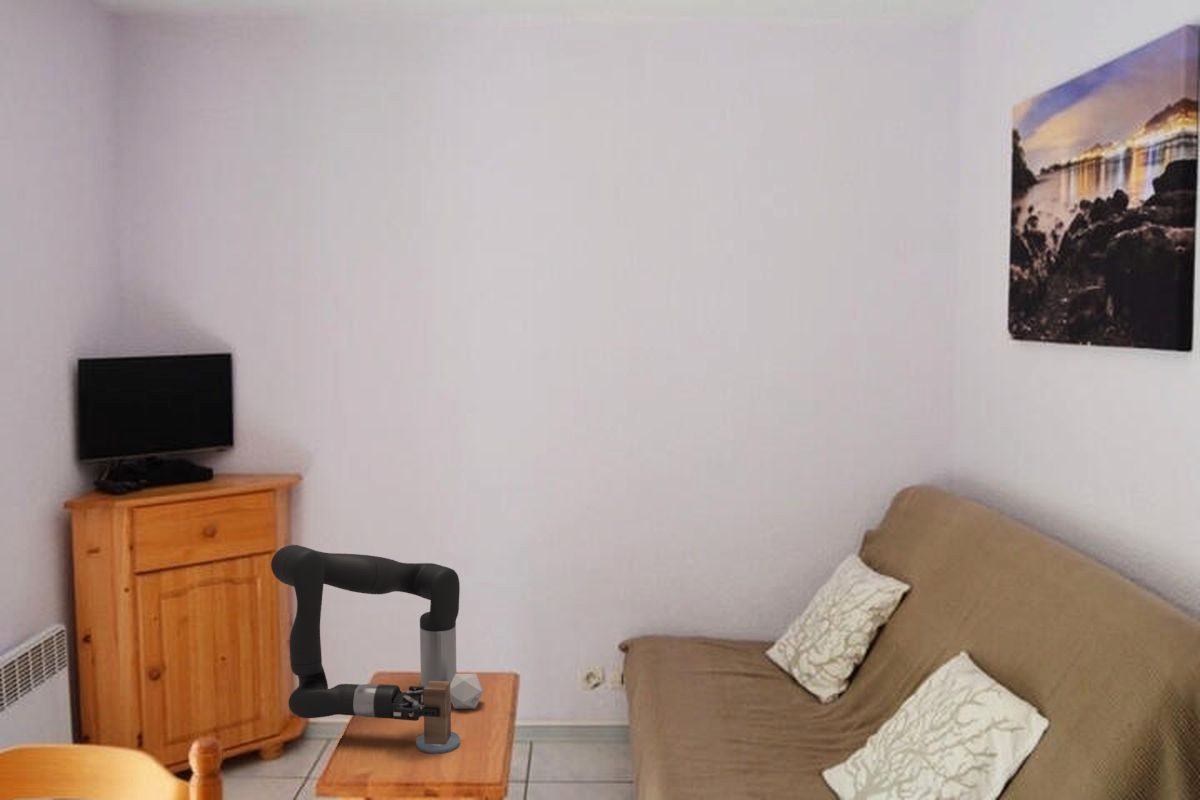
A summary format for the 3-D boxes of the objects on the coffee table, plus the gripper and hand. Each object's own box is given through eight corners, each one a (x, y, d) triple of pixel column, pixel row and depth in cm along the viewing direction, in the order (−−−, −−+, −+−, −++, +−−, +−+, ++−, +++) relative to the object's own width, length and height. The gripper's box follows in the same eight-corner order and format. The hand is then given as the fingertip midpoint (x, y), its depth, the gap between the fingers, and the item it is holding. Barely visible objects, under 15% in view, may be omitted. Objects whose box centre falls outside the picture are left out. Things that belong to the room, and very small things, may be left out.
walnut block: (429, 734, 255) (429, 680, 254) (450, 735, 255) (450, 681, 253) (424, 743, 250) (423, 688, 249) (445, 744, 250) (445, 689, 248)
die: (467, 719, 268) (489, 683, 271) (437, 699, 269) (459, 663, 272) (471, 718, 277) (492, 683, 279) (441, 698, 278) (463, 664, 280)
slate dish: (415, 737, 256) (415, 732, 256) (458, 733, 258) (458, 728, 258) (417, 755, 247) (416, 750, 247) (461, 751, 249) (461, 746, 249)
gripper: (366, 697, 246) (437, 700, 244) (386, 674, 260) (452, 677, 258) (367, 729, 246) (437, 732, 245) (386, 704, 261) (453, 707, 259)
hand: (445, 704), depth 251 cm, fingers open, 8 cm apart
